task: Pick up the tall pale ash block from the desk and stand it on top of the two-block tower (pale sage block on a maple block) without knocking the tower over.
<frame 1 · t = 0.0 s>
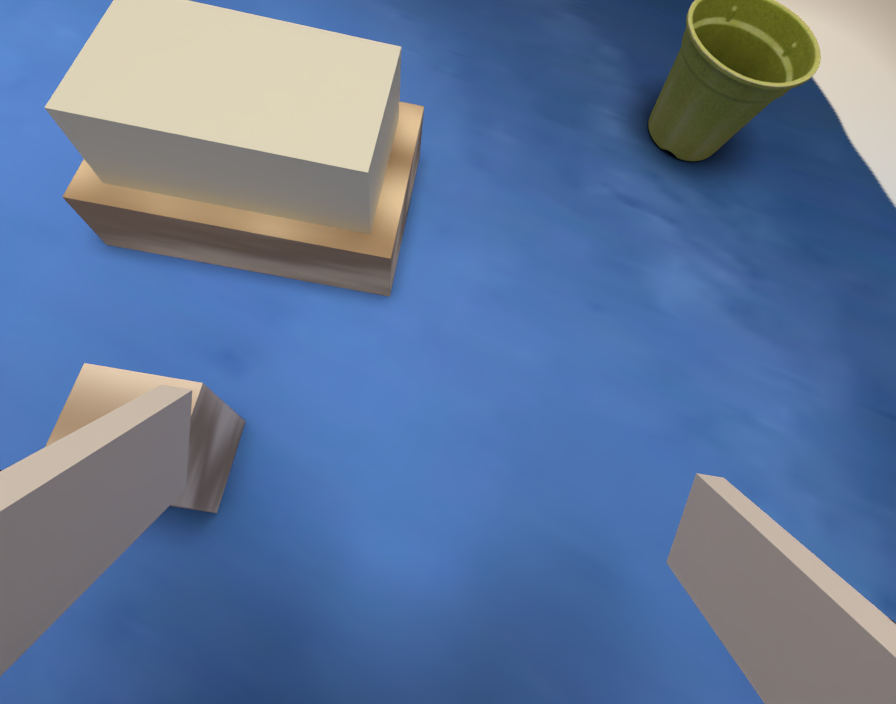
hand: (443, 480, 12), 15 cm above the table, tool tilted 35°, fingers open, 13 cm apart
ash block: (185, 458, 26), on the table
plant pot: (680, 136, 41), on the table
bottom block: (277, 201, 34), on the table, touching top block
top block: (261, 149, 29), point 4 cm above the table, touching bottom block
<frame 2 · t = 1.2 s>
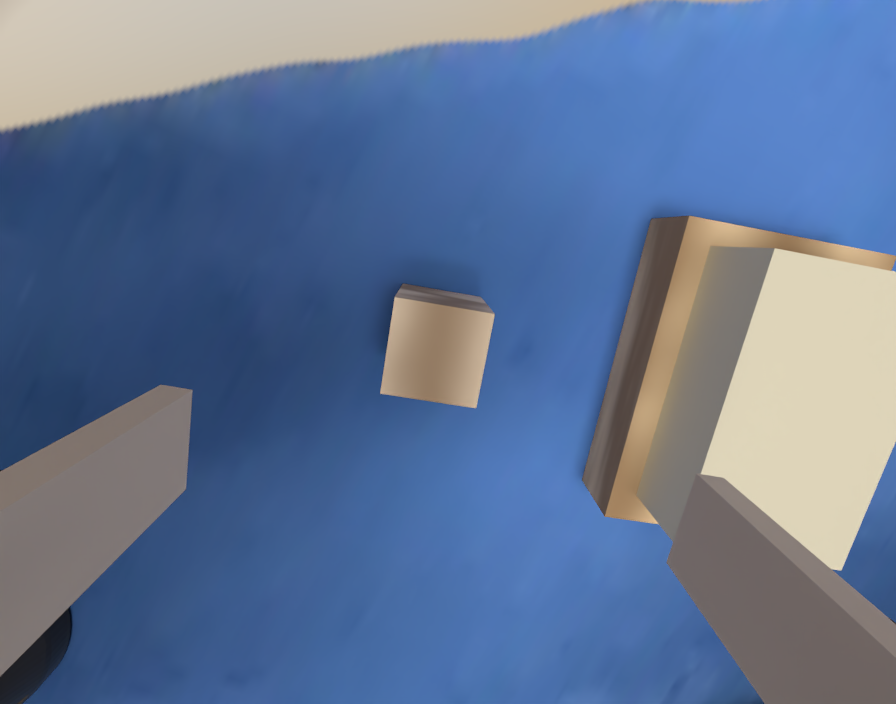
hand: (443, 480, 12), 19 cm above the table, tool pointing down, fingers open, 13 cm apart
ash block: (435, 328, 31), on the table
bottom block: (696, 370, 33), on the table, touching top block
top block: (744, 390, 28), point 4 cm above the table, touching bottom block
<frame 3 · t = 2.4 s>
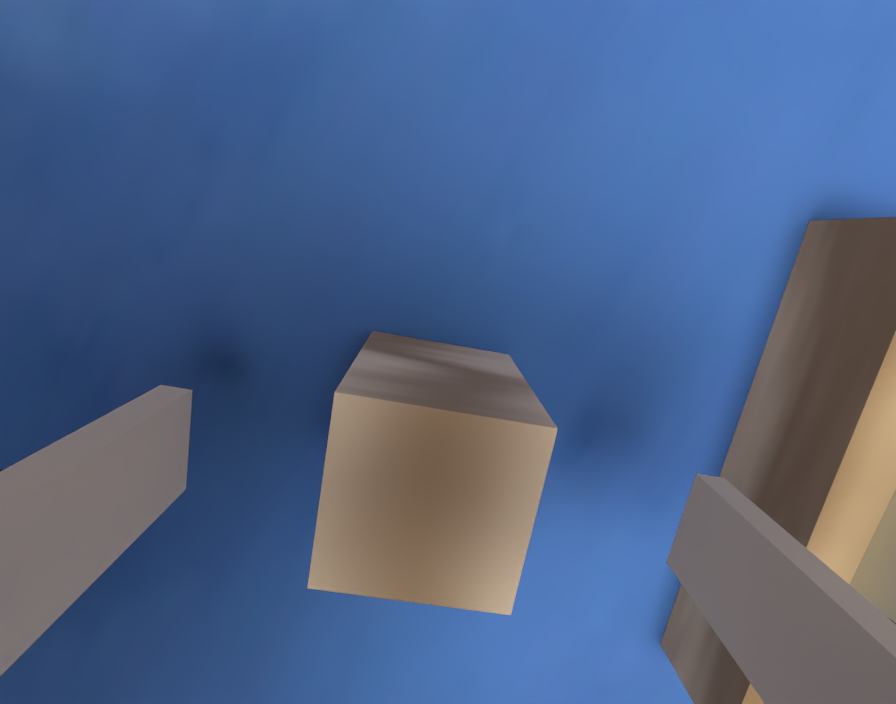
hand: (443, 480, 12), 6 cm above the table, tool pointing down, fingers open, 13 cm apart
ash block: (429, 407, 18), on the table
bottom block: (856, 472, 20), on the table, touching top block
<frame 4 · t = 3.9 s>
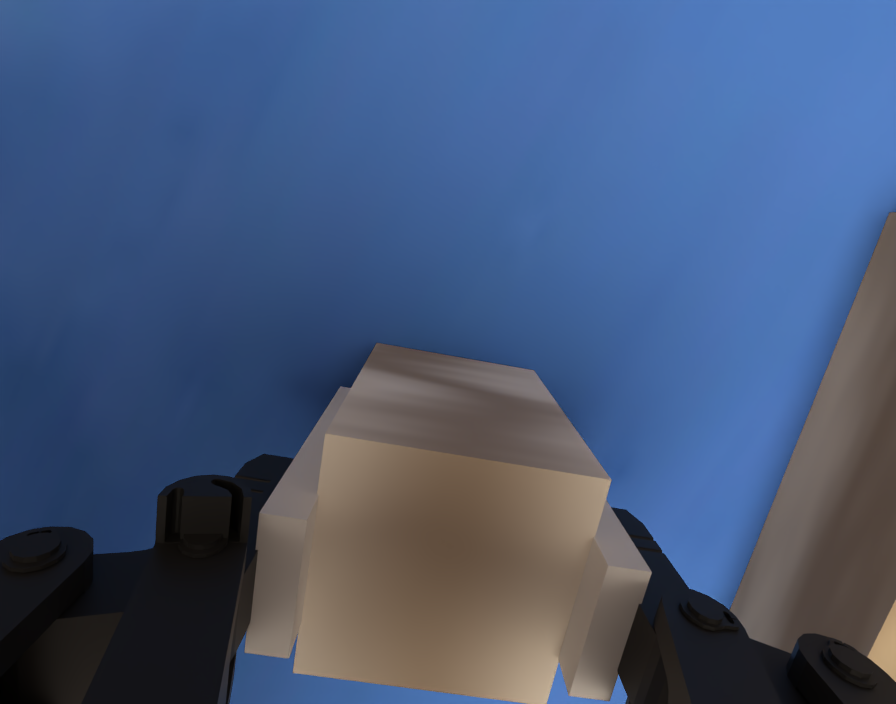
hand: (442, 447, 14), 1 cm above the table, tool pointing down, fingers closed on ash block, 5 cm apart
ash block: (441, 430, 16), on the table, touching gripper
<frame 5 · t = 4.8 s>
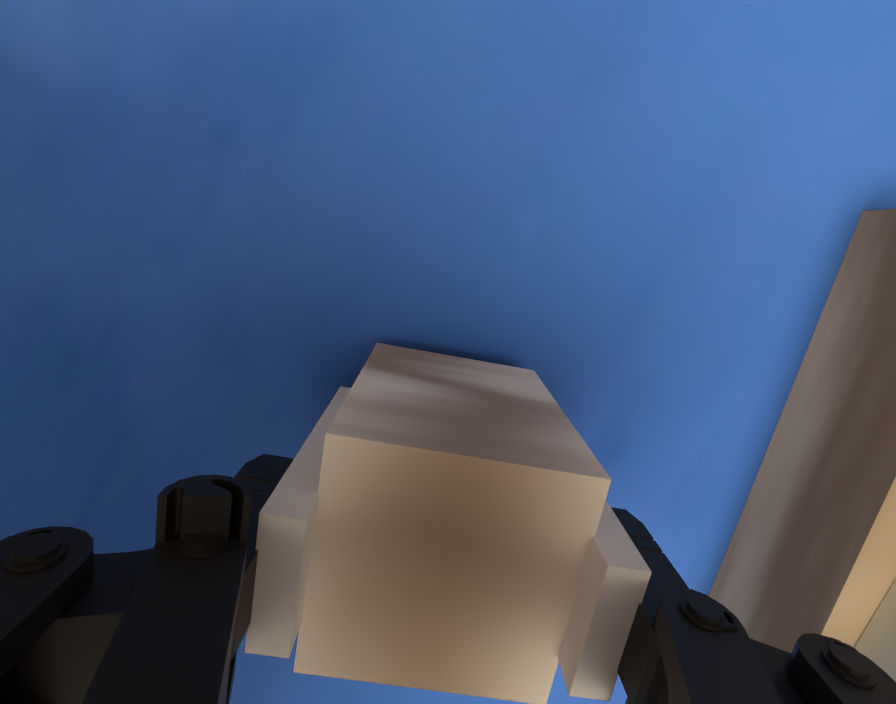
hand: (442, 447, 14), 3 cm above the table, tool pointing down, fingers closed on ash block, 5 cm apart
ash block: (441, 430, 16), point 1 cm above the table, touching gripper
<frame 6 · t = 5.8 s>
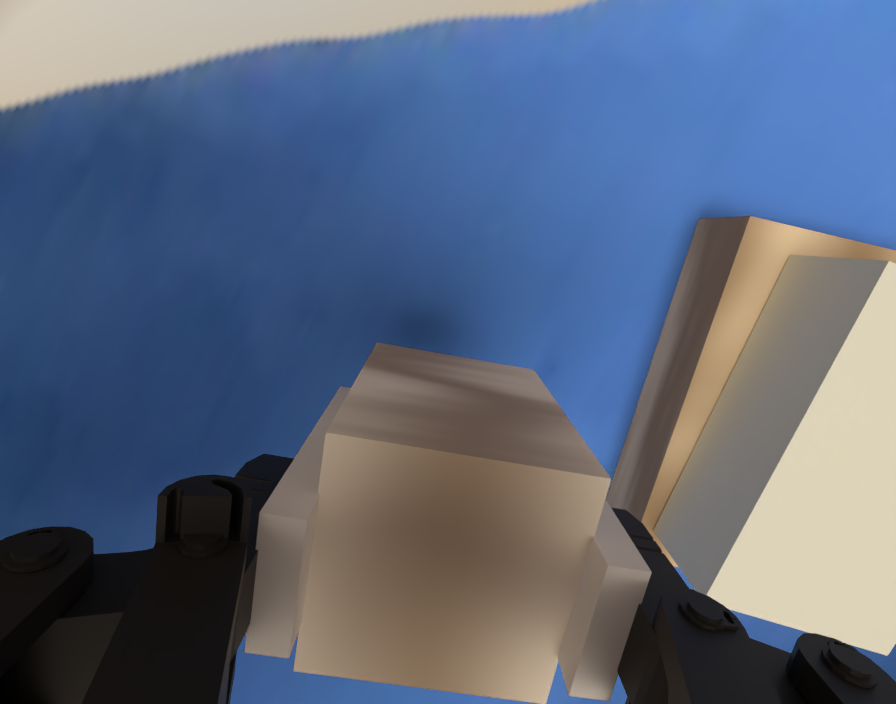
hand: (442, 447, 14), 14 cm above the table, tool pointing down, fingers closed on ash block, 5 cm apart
ash block: (441, 429, 16), point 12 cm above the table, touching gripper
bottom block: (739, 393, 29), on the table
top block: (798, 429, 24), point 5 cm above the table
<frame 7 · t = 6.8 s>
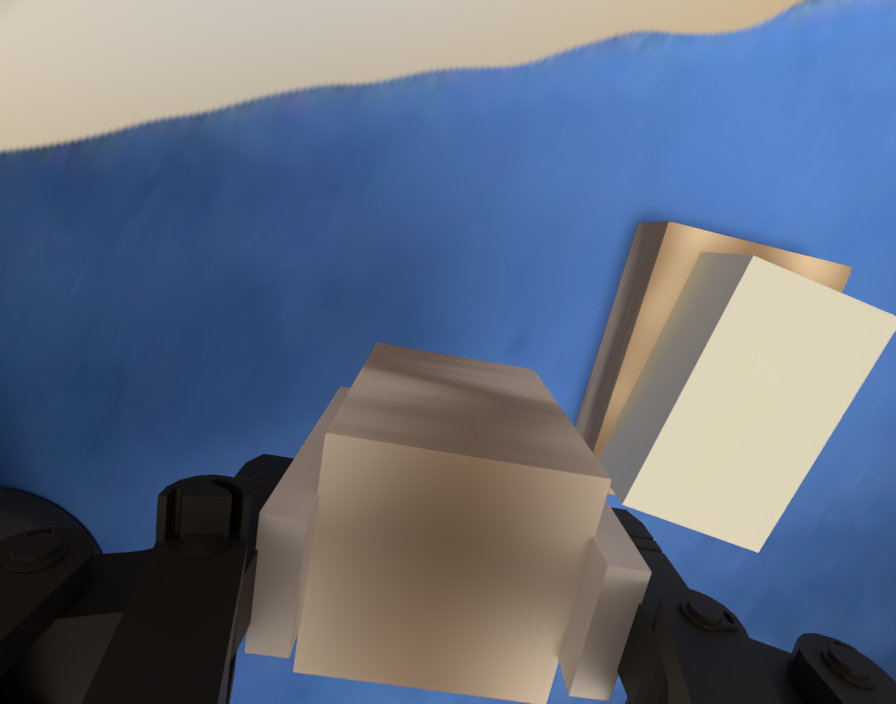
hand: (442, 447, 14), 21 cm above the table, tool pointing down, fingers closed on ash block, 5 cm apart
ash block: (441, 429, 16), point 19 cm above the table, touching gripper
bottom block: (673, 363, 36), on the table, touching top block
top block: (706, 387, 31), point 4 cm above the table, touching bottom block
when the fingers open (13 cm above the table, at t = 10.5 s): ash block drops 2 cm, resting on top block.
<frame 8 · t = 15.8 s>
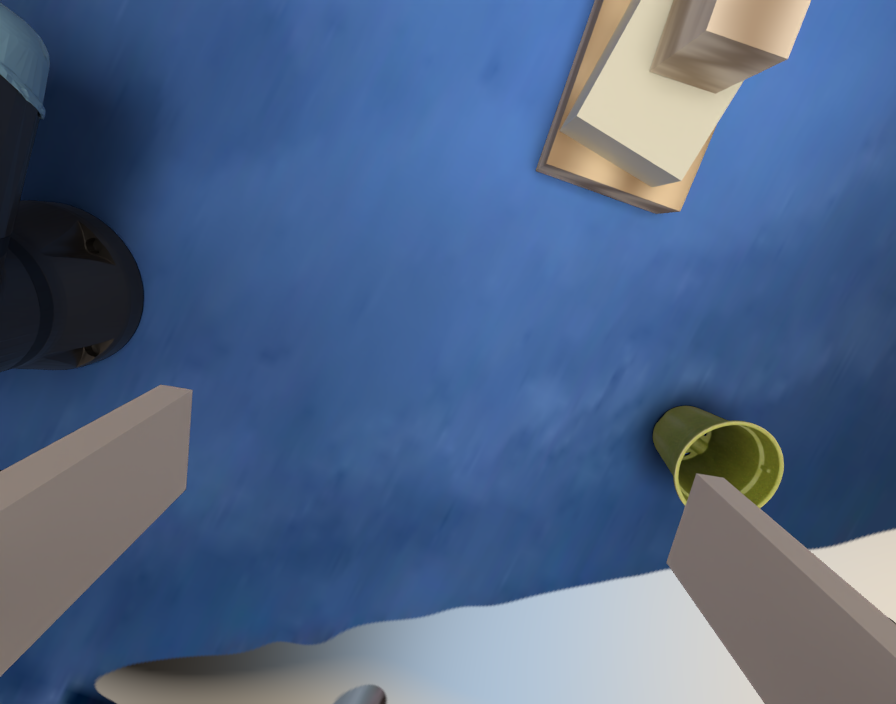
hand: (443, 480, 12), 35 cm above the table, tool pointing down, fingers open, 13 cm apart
ash block: (696, 43, 33), point 10 cm above the table, touching top block
plant pot: (679, 432, 50), on the table
bottom block: (633, 91, 43), on the table, touching top block
top block: (658, 69, 38), point 4 cm above the table, touching ash block, bottom block
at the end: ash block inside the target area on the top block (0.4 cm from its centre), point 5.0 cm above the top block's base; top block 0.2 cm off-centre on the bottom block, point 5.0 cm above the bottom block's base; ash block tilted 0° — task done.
